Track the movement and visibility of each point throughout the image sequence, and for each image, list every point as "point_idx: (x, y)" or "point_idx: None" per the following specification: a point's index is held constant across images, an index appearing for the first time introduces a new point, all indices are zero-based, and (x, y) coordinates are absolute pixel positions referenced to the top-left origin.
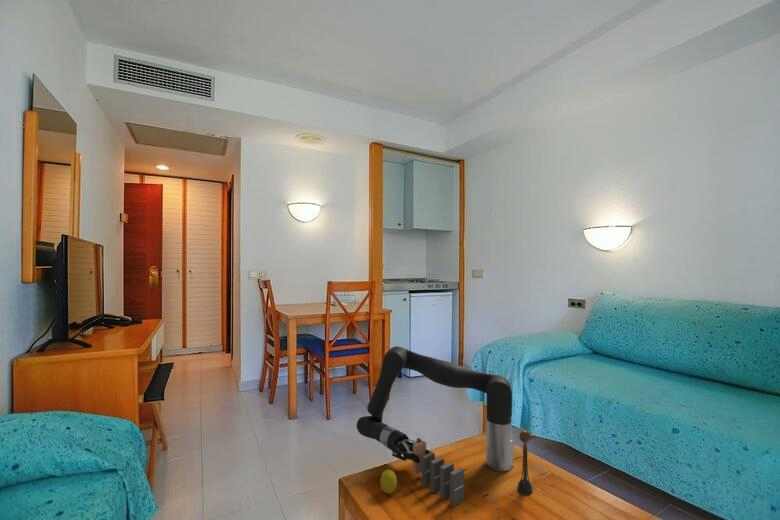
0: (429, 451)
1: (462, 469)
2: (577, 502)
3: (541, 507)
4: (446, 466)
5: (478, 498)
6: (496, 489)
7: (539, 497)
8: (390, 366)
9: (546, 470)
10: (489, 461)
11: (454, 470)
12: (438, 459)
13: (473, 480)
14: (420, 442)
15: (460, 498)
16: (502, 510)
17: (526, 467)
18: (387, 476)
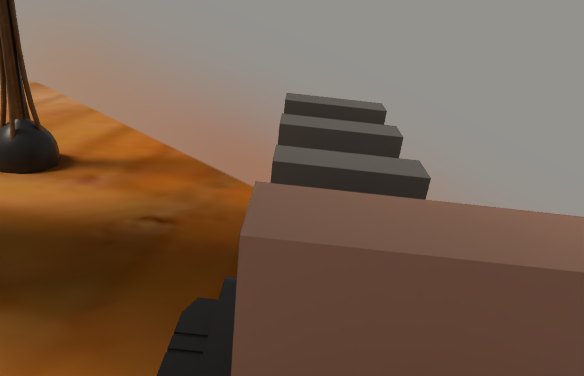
0: (234, 282)
1: (295, 94)
2: (37, 109)
3: (118, 138)
4: (354, 124)
5: (206, 228)
6: (80, 207)
7: (59, 142)
8: None
9: None
10: None
11: (344, 105)
12: (332, 159)
13: (41, 282)
14: (379, 230)
15: None
16: (215, 178)
17: (2, 68)
18: None
